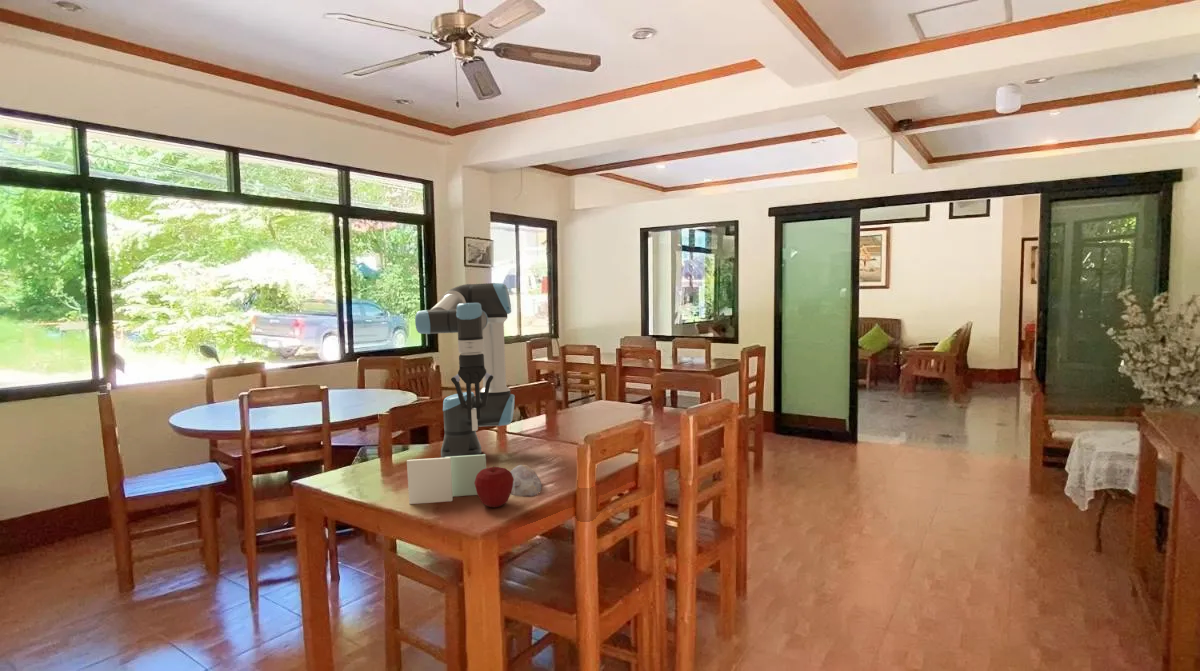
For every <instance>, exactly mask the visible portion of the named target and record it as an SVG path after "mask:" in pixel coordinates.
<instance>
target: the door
mask: <svg viewBox="0 0 1200 671" xmlns="http://www.w3.org/2000/svg"><path fill="white" fill-rule="evenodd" d="M486 455H487V454H485V453H483V454H482V453H481V454H480V455H466V456H450V457H451V473H452V492H453V497H463V496H478V494H477V491H476V487H475V484H474V483H475V479H476V476H477V474H478V473H479V472H480V471H481V470H483V469H486V468H487V456H486Z"/></svg>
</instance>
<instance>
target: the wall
mask: <svg viewBox="0 0 1200 671" xmlns="http://www.w3.org/2000/svg"><path fill="white" fill-rule="evenodd" d="M406 470H407V488H408V490H407V491H408V503H409V505H414V504H415V505H417V504H429V503H430V504H432V503H433V504H434V503H444V502H453V501H454V496H453V492H452V473H451V457H445V458H442V457H434V458H433V457H432V458H431V457H430V458H418V459H417V458H415V459H413V458H412V459H407V460H406Z"/></svg>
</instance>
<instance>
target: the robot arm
mask: <svg viewBox="0 0 1200 671" xmlns="http://www.w3.org/2000/svg"><path fill="white" fill-rule="evenodd" d="M508 289H509V288H508V287H507V285H506V284H505V283H500V282H496V283H495V282H488V283H467V284H461V285H458V286H455V287H453V288H450V289H448V290H446V292H444V293H443V294H442V295H441V296H440V299H439V301H438V302H437V303H436V304H435V305H434V306H433V307H431V308H430V309H424V310H418V311H416V313H415V319H414V322H415V329H416V331H417V333H419V334H423V335H424V334H425V335H431V334H435V335H436V334H453V333H454V334H455V333H456V334H457V345H458V354H459V355H458V364H459V366H458V367H459V369H458V372H457V374H456V375H454V376H452V377H451V379H450V380H451V382H452V384H453V385H454V386H455V392H456V393H454V394H451V395H449V396H446V397H445V398H444V399H443V402H442V412H443V429H444V436H443V441H442V445H441V448H440V458H445V457H450V456H466V455H482V446H481V443H480V440H479V437H478V435H477V431H478V430H479V427H480V428H481V427H502V426H508V425H510V424H511V423H512V421H513V418H514V411H515V398H516V397H515V394H513V393H511V389H510V388H509V387H508V386H507V378H506V377H507V374H506V353H505V352H506V348H505V326H504V324H505V322H506V321H507V320H508V315H510V314H511V313H512V304H511V298H510V294H509V290H508ZM460 379H461V380H462V382H464V384H465V389H466V391H465V392H464V391H463V390H462V387H461V383H460V381H461V380H460ZM481 382H483V384H482V387H481V388H480V383H481ZM472 384H473V385H474V392H473V391H472Z"/></svg>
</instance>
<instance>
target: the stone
mask: <svg viewBox="0 0 1200 671" xmlns="http://www.w3.org/2000/svg"><path fill="white" fill-rule="evenodd" d="M509 471H510V472H511V474H512V476H513V479H514V481H513V487H512V491H511V494H510V495H512V496H517V497H535V496H538V495H539V494H540V493H541V492H540V491H542V481H541V479H540V478H539V476H538V474H537V473H536V471H535V470H534V469H533V468H531V467H530V466H528V465H527V464H518V465H516V466H515V467H514V468H512V469H511V470H509ZM539 492H540V493H539ZM538 493H539V494H538ZM537 494H538V495H537ZM534 495H535V496H534Z"/></svg>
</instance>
